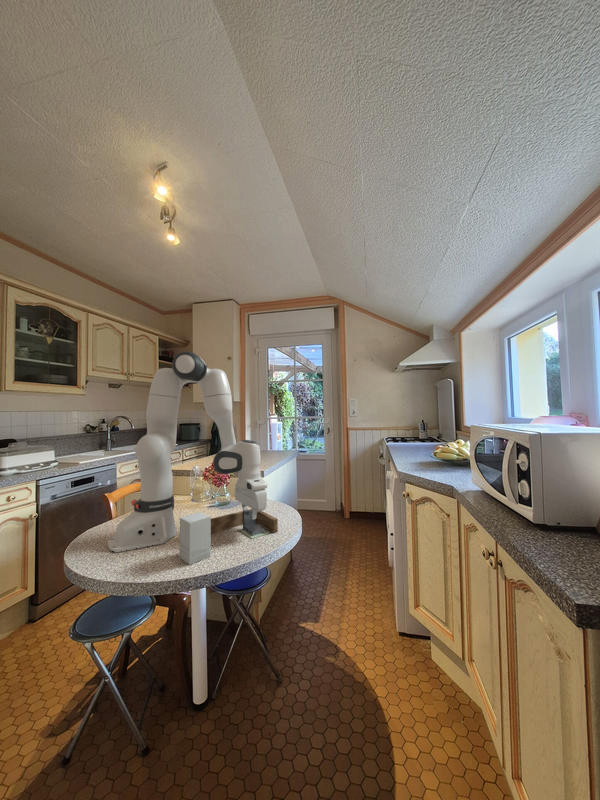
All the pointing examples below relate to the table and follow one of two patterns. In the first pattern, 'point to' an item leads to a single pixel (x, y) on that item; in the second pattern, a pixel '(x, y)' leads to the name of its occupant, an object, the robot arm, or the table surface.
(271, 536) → the table surface
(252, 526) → the bracket
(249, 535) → the mat
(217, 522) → the wooden corner frame
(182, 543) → the supplement box
